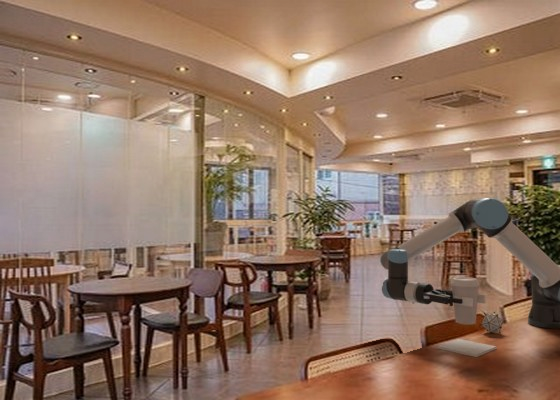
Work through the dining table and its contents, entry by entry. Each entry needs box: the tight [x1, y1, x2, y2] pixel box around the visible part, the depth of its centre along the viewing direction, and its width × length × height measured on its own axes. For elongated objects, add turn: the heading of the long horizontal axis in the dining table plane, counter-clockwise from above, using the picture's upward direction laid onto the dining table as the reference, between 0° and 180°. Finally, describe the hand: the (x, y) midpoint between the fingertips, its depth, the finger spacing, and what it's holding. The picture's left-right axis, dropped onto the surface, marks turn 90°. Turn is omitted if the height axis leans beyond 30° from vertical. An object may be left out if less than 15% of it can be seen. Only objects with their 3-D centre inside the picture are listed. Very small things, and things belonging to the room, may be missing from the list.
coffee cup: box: [450, 276, 481, 326], centre depth 168 cm, size 10×10×15 cm
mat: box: [436, 338, 497, 358], centre depth 167 cm, size 14×14×1 cm
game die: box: [478, 311, 506, 335], centre depth 188 cm, size 9×8×10 cm
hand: (478, 300), depth 164 cm, fingers closed on coffee cup, 8 cm apart
